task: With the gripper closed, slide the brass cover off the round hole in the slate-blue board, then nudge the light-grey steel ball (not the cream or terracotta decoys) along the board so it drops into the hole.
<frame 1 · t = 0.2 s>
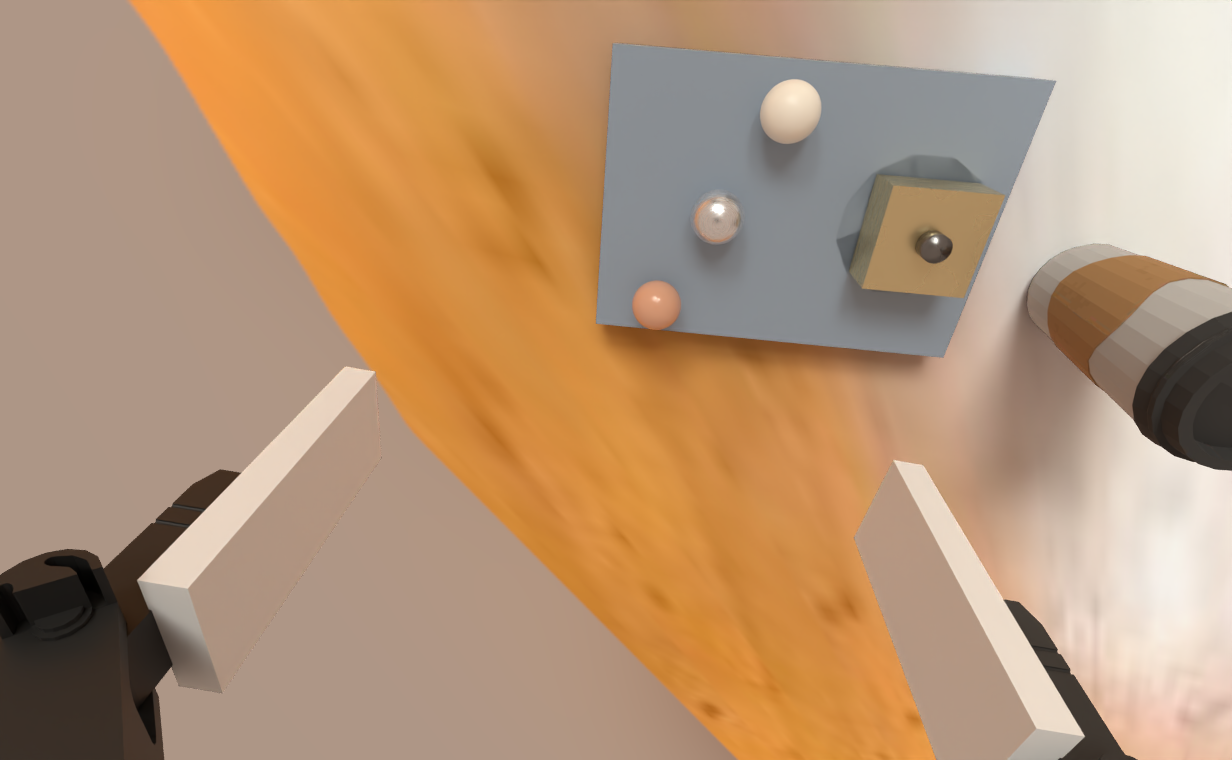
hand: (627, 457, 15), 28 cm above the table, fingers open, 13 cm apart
board: (789, 207, 38), on the table
steel ball: (717, 217, 35), point 4 cm above the table, touching board
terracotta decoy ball: (656, 305, 38), point 4 cm above the table, touching board
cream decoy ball: (790, 112, 32), point 4 cm above the table, touching board
brass cover: (923, 238, 34), point 5 cm above the table, slide at 0.0 cm
coffee cup: (1072, 285, 40), on the table
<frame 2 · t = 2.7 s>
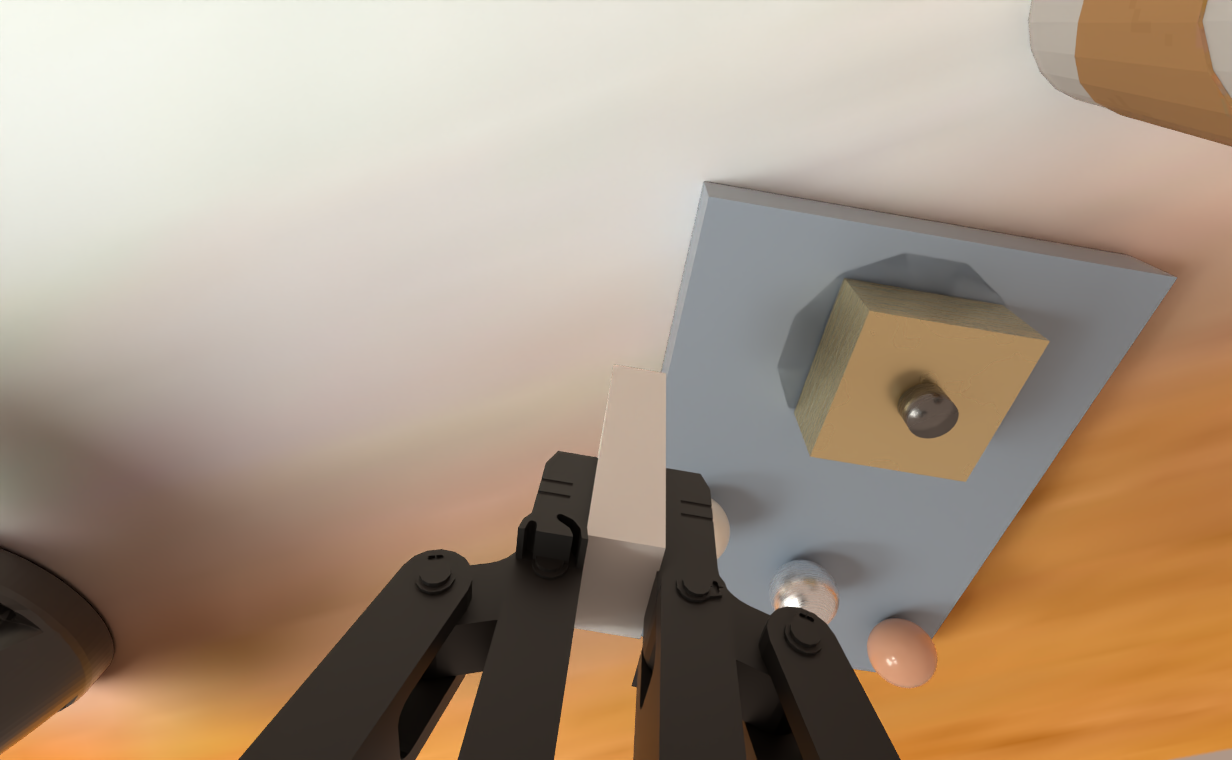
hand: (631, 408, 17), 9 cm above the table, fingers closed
board: (817, 459, 29), on the table
steel ball: (803, 594, 28), point 4 cm above the table, touching board
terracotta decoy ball: (901, 652, 30), point 4 cm above the table, touching board
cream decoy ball: (693, 529, 26), point 4 cm above the table, touching board
brass cover: (910, 388, 21), point 5 cm above the table, slide at 0.0 cm
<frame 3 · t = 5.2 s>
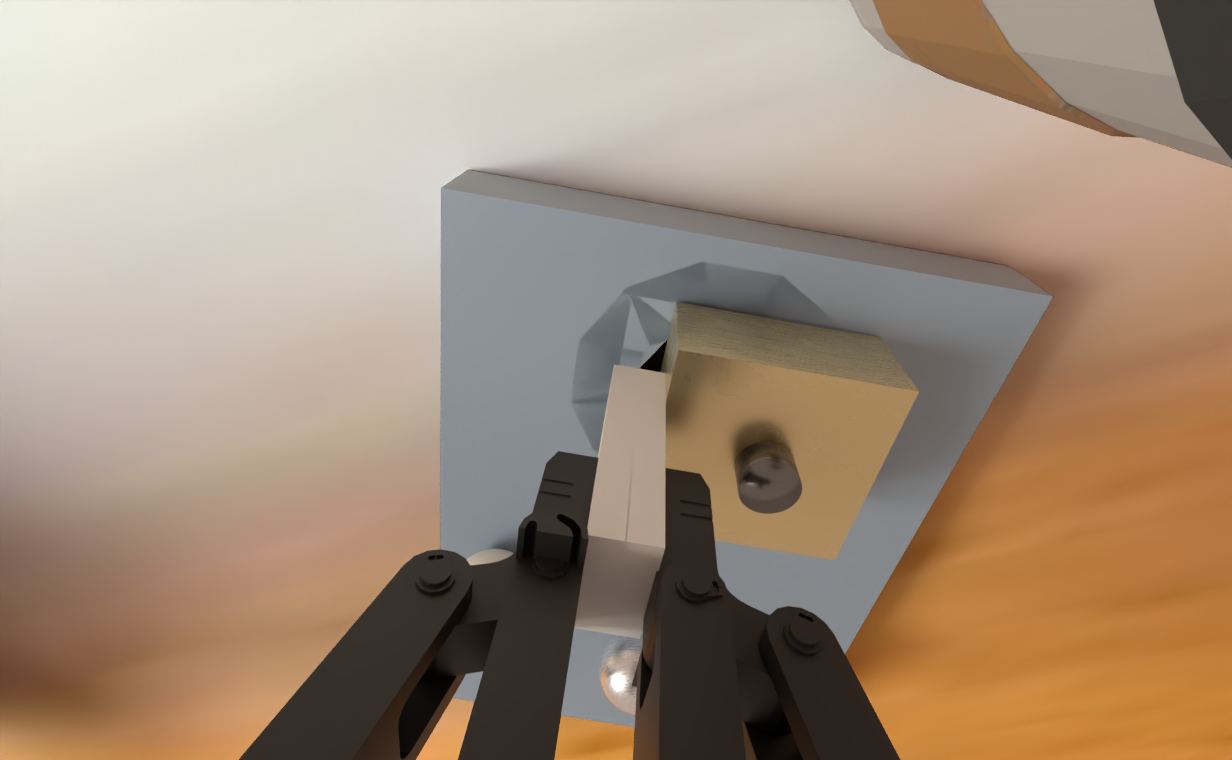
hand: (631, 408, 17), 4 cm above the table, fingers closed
board: (663, 504, 24), on the table
steel ball: (638, 668, 23), point 4 cm above the table, touching board
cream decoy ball: (493, 593, 22), point 4 cm above the table, touching board
brass cover: (759, 443, 17), point 5 cm above the table, slide at 1.4 cm, touching gripper
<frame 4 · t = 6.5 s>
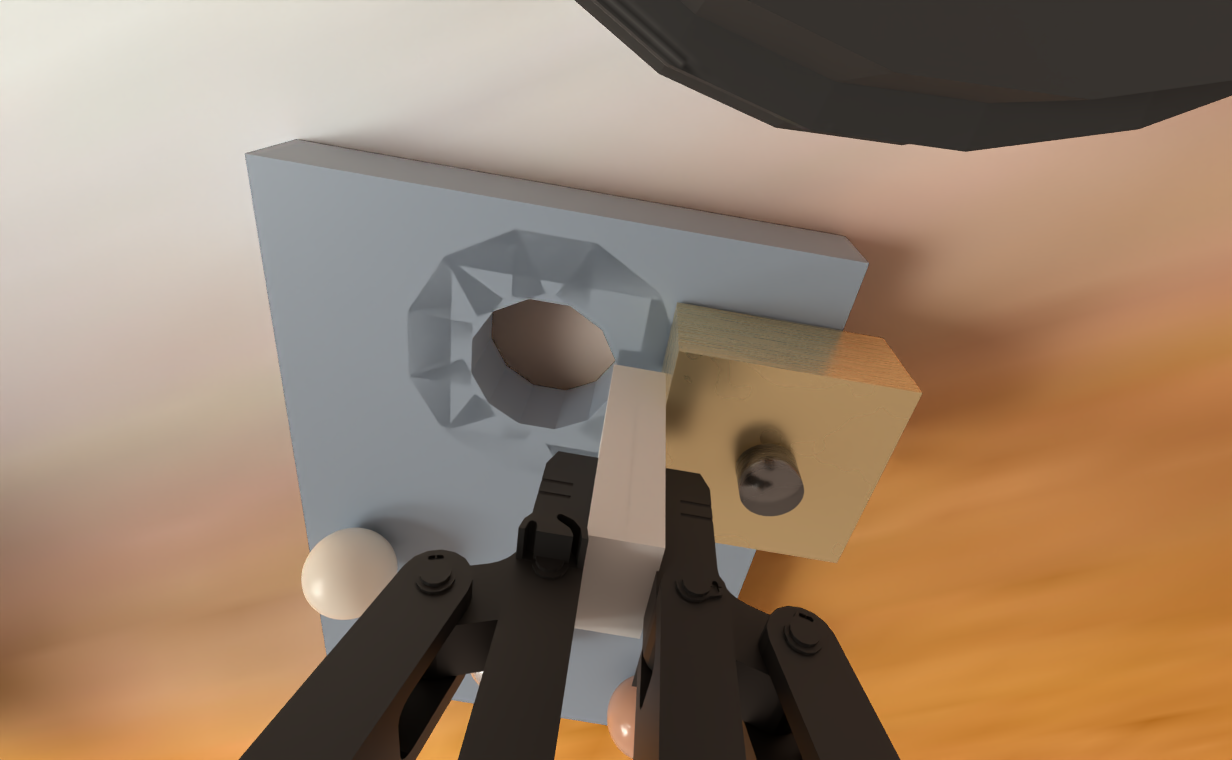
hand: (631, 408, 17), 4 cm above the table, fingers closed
board: (538, 484, 24), on the table
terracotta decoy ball: (644, 716, 25), point 4 cm above the table, touching board
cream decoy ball: (350, 572, 21), point 4 cm above the table, touching board
brass cover: (760, 445, 17), point 5 cm above the table, slide at 6.6 cm, touching gripper
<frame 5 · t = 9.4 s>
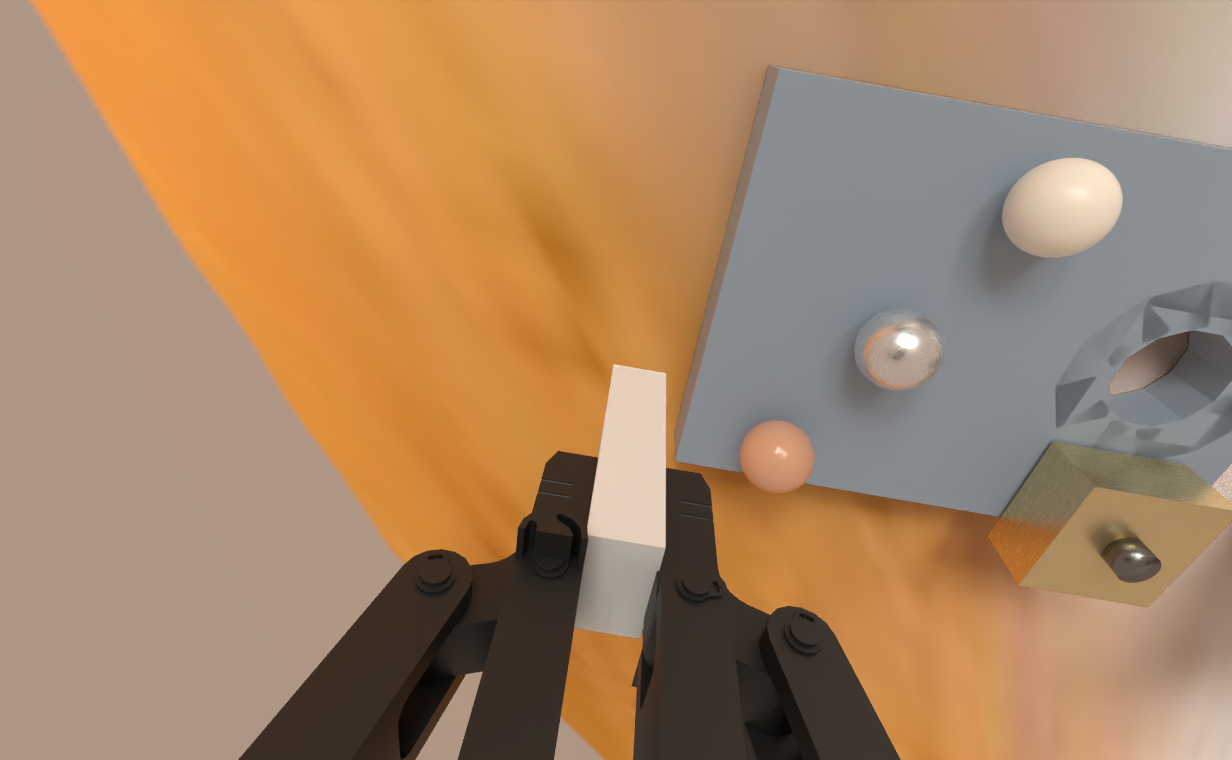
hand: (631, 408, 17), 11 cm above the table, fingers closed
board: (977, 325, 26), on the table
steel ball: (898, 349, 23), point 4 cm above the table, touching board
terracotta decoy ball: (776, 456, 26), point 4 cm above the table, touching board
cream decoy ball: (1059, 208, 20), point 4 cm above the table, touching board
brass cover: (1107, 533, 26), point 5 cm above the table, slide at 6.7 cm
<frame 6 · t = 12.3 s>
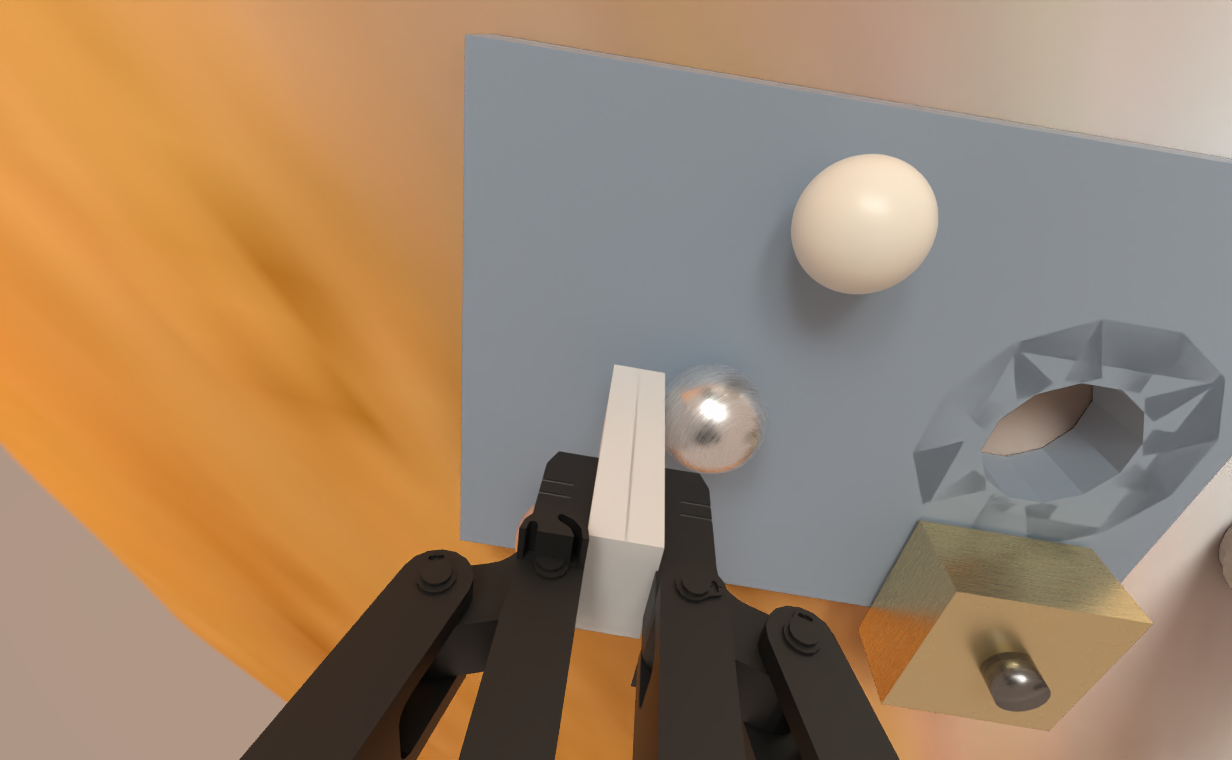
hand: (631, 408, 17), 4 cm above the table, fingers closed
board: (823, 370, 20), on the table
steel ball: (711, 418, 17), point 4 cm above the table, tilted 28°, touching board
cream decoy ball: (861, 226, 14), point 4 cm above the table, touching board
brass cover: (992, 639, 20), point 5 cm above the table, slide at 6.7 cm
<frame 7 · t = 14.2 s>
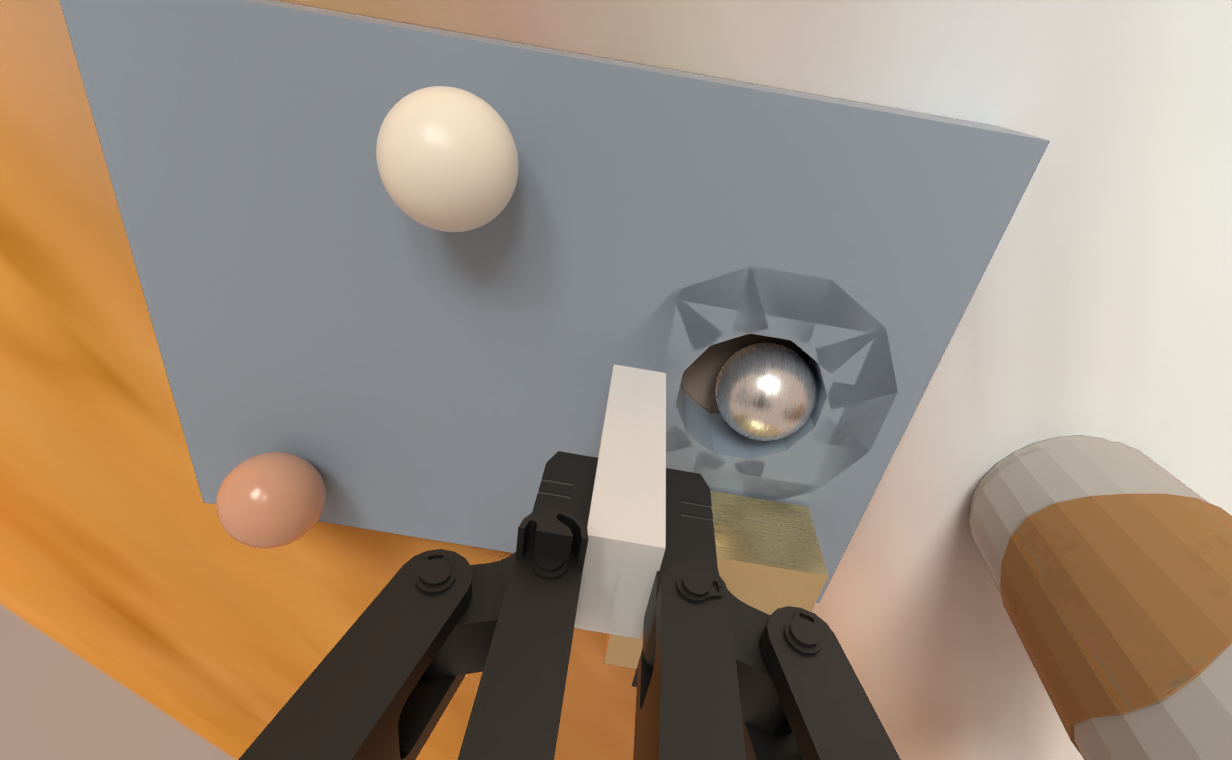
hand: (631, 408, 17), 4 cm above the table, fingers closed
board: (543, 328, 20), on the table
steel ball: (764, 391, 19), point 2 cm above the table, tilted 90°
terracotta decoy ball: (273, 499, 20), point 4 cm above the table, touching board
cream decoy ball: (449, 162, 14), point 4 cm above the table, touching board
brass cover: (705, 597, 20), point 5 cm above the table, slide at 6.7 cm
coffee cup: (1048, 493, 23), on the table
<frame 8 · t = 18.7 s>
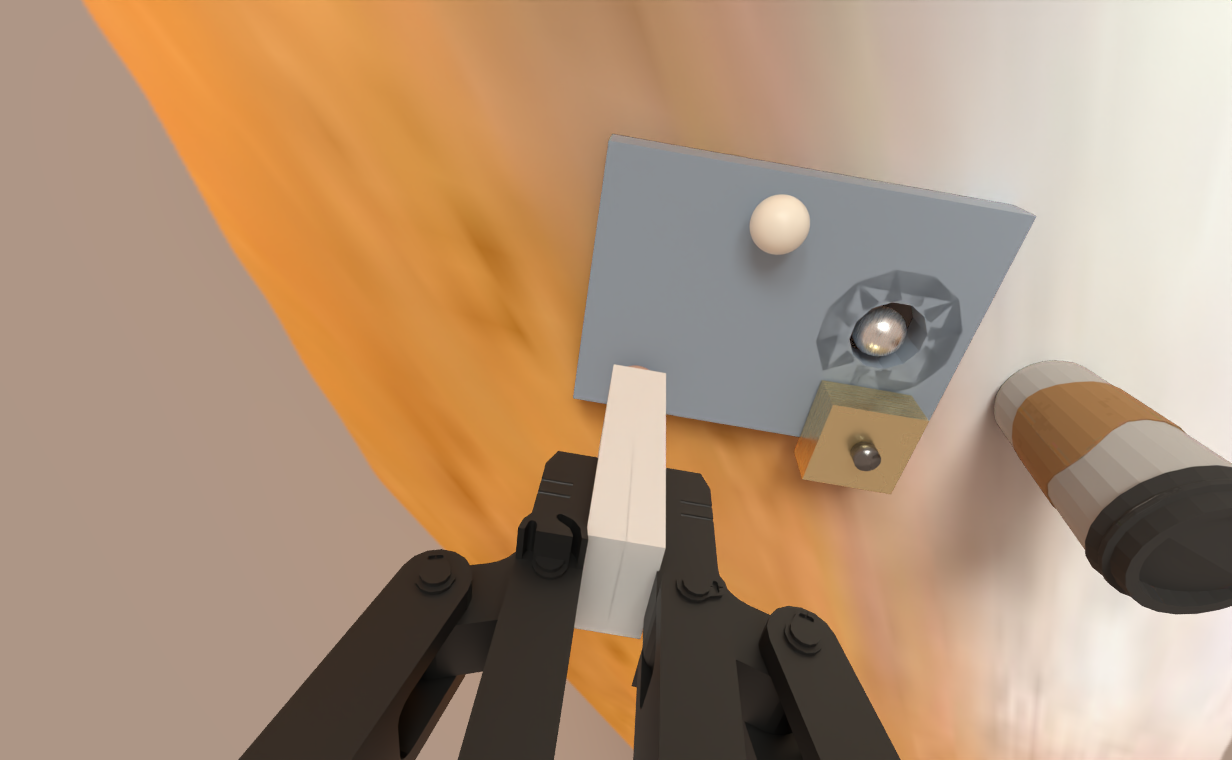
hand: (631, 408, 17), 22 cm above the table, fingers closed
board: (772, 302, 39), on the table
steel ball: (878, 331, 38), point 2 cm above the table, tilted 58°
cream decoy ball: (779, 224, 32), point 4 cm above the table, touching board
brass cover: (858, 442, 38), point 5 cm above the table, slide at 6.7 cm
coffee cup: (1037, 395, 41), on the table
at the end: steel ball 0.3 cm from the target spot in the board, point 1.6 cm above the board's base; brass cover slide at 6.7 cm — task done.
